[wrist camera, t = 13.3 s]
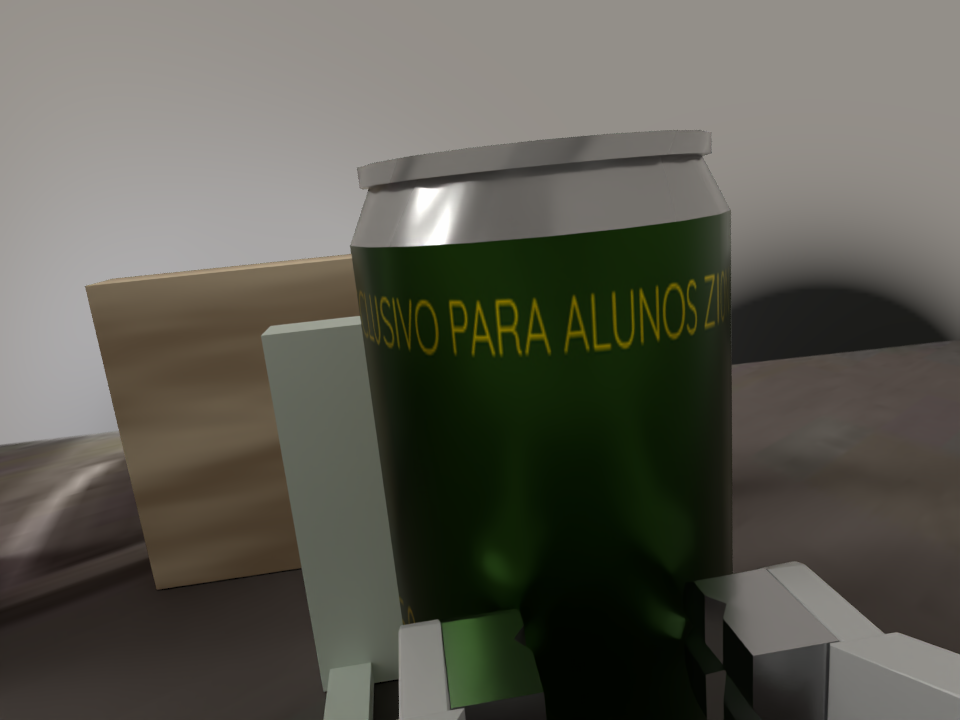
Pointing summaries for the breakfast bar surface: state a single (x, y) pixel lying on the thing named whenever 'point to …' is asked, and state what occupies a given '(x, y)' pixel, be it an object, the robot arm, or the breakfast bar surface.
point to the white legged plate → (337, 506)
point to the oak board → (209, 407)
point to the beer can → (556, 399)
